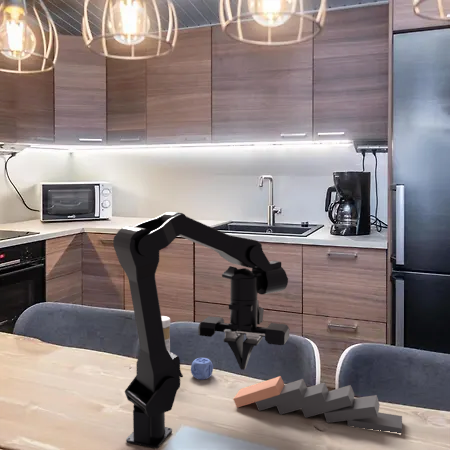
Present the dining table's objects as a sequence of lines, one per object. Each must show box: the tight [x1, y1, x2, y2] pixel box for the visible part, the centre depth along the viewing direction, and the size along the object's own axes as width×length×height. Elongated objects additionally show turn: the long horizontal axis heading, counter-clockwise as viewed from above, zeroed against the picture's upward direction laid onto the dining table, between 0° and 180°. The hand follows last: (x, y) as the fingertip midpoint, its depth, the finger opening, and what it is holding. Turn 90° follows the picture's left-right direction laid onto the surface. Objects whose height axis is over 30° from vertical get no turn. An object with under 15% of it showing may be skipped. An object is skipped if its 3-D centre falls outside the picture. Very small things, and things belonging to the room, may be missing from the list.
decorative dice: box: [190, 357, 214, 381], centre depth 117 cm, size 4×4×4 cm
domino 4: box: [301, 384, 355, 419], centre depth 97 cm, size 2×5×10 cm
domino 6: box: [347, 412, 403, 434], centre depth 94 cm, size 2×5×10 cm
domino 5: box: [323, 394, 381, 423], centre depth 95 cm, size 2×5×10 cm
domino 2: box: [254, 378, 308, 412], centre depth 100 cm, size 2×5×10 cm
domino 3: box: [276, 382, 330, 416], centre depth 99 cm, size 2×5×10 cm
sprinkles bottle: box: [161, 315, 171, 352], centre depth 120 cm, size 5×5×14 cm
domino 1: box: [232, 375, 285, 408], centre depth 102 cm, size 2×5×10 cm
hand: (243, 369), depth 102 cm, fingers closed
